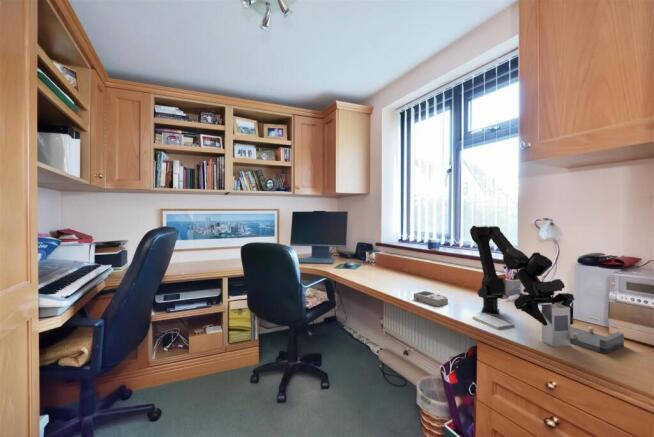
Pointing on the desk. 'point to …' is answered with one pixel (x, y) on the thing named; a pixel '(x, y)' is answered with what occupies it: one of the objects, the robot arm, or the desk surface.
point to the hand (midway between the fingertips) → (559, 324)
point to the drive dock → (596, 340)
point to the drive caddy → (556, 325)
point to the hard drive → (493, 322)
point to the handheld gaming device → (431, 298)
